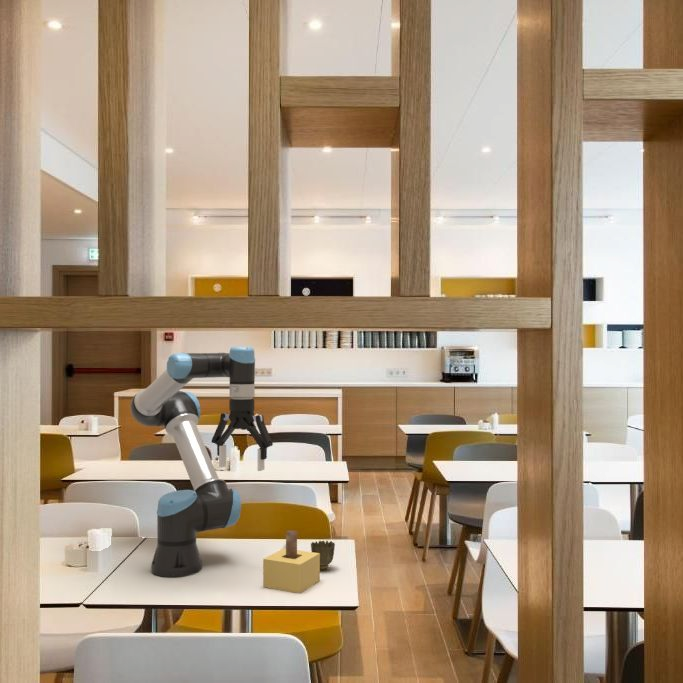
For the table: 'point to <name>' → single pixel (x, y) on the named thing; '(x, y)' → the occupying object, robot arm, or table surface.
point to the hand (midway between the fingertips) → (241, 468)
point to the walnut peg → (291, 544)
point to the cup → (324, 552)
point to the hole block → (291, 571)
